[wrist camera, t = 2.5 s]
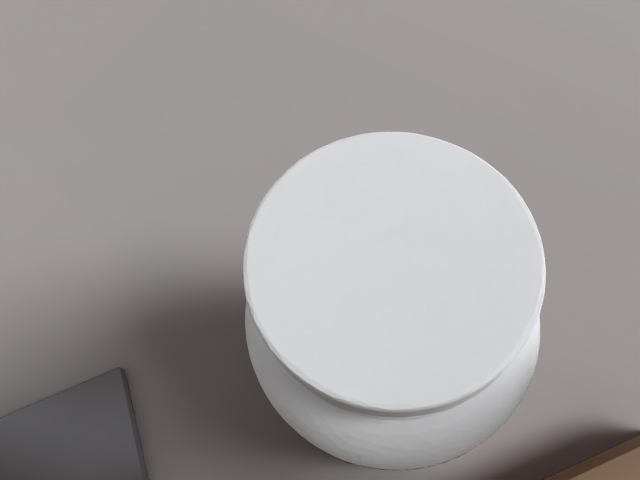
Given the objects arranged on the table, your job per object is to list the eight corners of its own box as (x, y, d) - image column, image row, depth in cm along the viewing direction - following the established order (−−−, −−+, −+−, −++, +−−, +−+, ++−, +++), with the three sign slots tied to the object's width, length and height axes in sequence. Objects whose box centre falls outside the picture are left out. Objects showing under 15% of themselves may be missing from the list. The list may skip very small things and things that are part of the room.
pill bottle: (269, 345, 18) (137, 203, 8) (405, 262, 19) (431, 41, 9) (358, 506, 16) (320, 579, 6) (510, 403, 17) (707, 310, 7)
